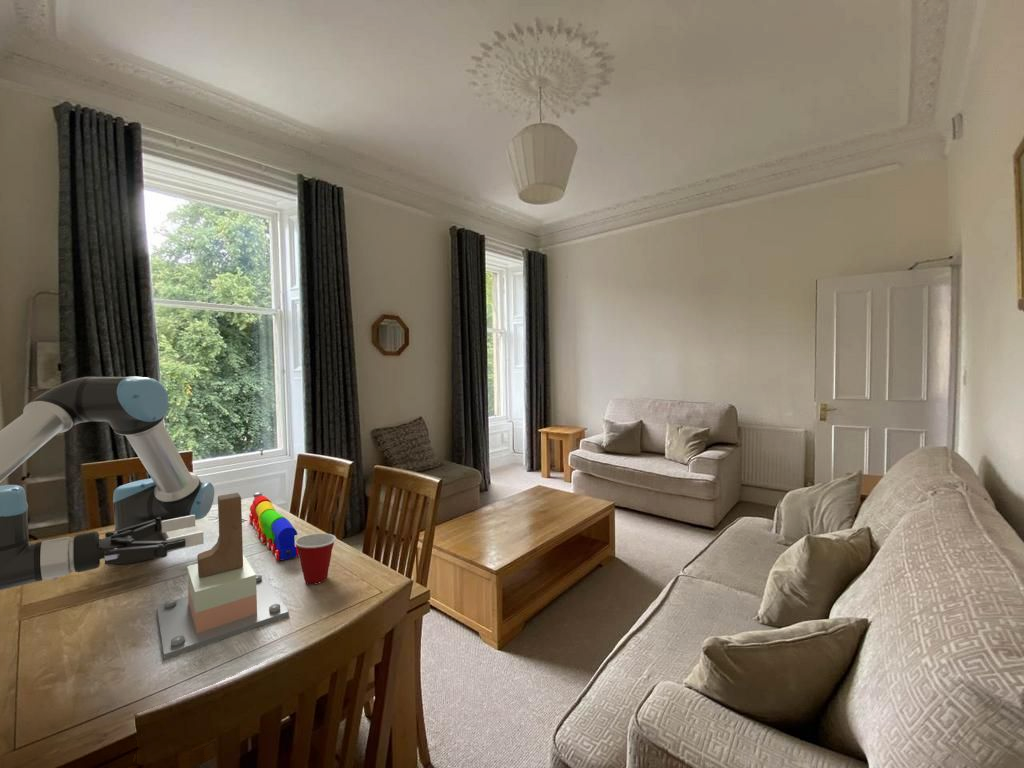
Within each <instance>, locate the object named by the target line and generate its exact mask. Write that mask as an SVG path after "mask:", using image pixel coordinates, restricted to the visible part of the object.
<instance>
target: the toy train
mask: <svg viewBox="0 0 1024 768" xmlns="http://www.w3.org/2000/svg"><path fill="white" fill-rule="evenodd" d="M249 511H250V514H249V515H248V522H249V524H250V525H252V527H254V528H255V533H256V532H257V533H256V534H257V539H258V538H259V539H258V540H260V543H261V544H262V543H263V544H262V545H265V543H266V548H267V549H268V550H269V549H271V550H270V551H271V554H272V555H273V554H274V558H275V561H276V562H277V561H278V562H280V561H285V560H288V559H292V558H297V557H296V556H298V555H299V553H298V549H297V546H296V545H295V540H296V539H295V536H298V531H297V530H296V529H295V527H294V526H293V524H292V523H291V522H290V521H289V520H288V518H286V517H285V516H283V515H281V514H280V513H279V512H277V511H276V509H275V507H274V505H273V503H272V501H271V500H270V499H269V498H268V497H266V496H264V495H263V493H262V492H259V491H258V492H255V493H254V494H253V501H252V504H250V507H249ZM252 523H253V524H252ZM254 528H253V529H254ZM298 557H299V556H298Z"/></svg>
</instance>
